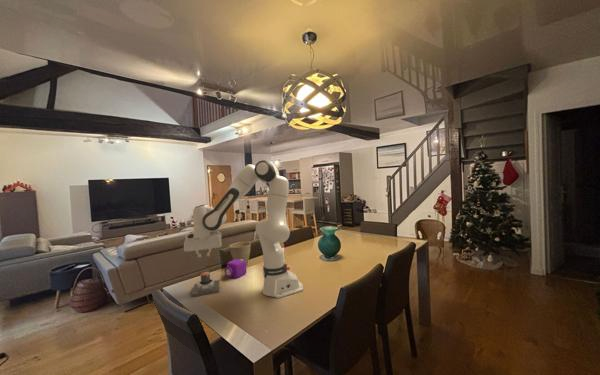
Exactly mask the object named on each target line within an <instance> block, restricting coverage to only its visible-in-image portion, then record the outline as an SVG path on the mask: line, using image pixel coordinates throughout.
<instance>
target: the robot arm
mask: <svg viewBox="0 0 600 375" xmlns="http://www.w3.org/2000/svg"><path fill="white" fill-rule="evenodd" d="M259 181H261V182H263V183H266V184H268V187H269V189H268V195H267V198H266V205H265V210H266V212H267V219H266V218H265V219H262V220H259V221H258V222H257V223H256V224H255V233H256V234H257V237H258V239H259V243H260V245H261V246H260V247H261V249H262V250H261V251H262V255H263V257H262V258H263V266H262V267H263V269H262V272H263V273H262V274H263V285H262V286H263V288H262V294H263V295H264V296H267V297H274V298H276V299H280V298H284V297H287V296H289V295H293V294H297V293H300V292H303V291H304V285H303V283H302V282H301V281H300V280H299V278H298V276H297V275H296V274H295V273H294V272H292V271H290V269H291V266H289V265H288V264H286V263H285V260H284V259H285V258H284V249H283V247H282V246H281V243H285V242H287V241H288V239H289V237H290V235H291V230H290V227H289V226H288V223H287V216H286V215H287V204H288V197H289V191H290V190H289V189H290V188H289V187H290V184H289V182H290V181H289V179H287V178H286V177H284V176H282V175H281V173H280V170H279V169H278V168H277V166H275V164H274V163H272V162H271V161H269V160H266V159H265V160H264V159H262V160H259V161H257V163H256V164H255V165H254V164H252V163H250V164H249V163H248V164H246V165H245V166H244V167H243V168H242V169H241V170H240V171H239V172H238V173H237V175H236V176H235V177H234V179H233V180H232V182H231V184H230V185H229V187H228V189H227V190H226V192H225V194H224V195H223V197H222V198H221V200H220V201H219V202H218V203H217V205H216V206H215V207H212V206H210V205H208V204H205V203H204V204H200V205H198V206H195V207H194V208H193V209H192V210H193V211H192V221H193V230H192V231H190V232H187V233H186V234H185V240H184V242H183V251H184V253H187V252H195V254H196V255H197V258H202V254H201V253H200V251H202V250H208V252H207V253H206V257H209V258H210V257H211V256H210V255H211V254H210V253H211V251H212V249H218V248H221V247H222V246H223V244H222V243H223V242H222V237H223V236H222V235H223V234H222V232H220V231H217V230H218V229H219V228H220V227H221V226H222V225H224V224H225V223H226V222H227V220H228V219H227V218H228V217H227V212H228V211H229V210H230V209H231V207H232V206H233V205H234V204H235V203H236V202H237V201H239V200H240V199H242V198H243V197H245V196H246V195H247V194H248V193H249V192H250V191H251V189H252V188H253V187H254V185H255V184H256V183H257V182H259Z"/></svg>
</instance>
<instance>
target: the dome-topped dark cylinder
mask: <svg viewBox="0 0 600 375" xmlns="http://www.w3.org/2000/svg"><path fill="white" fill-rule="evenodd" d="M210 278H211V274H210V271H203V272H200V281H201V284H208V283H210Z"/></svg>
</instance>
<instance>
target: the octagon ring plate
mask: <svg viewBox="0 0 600 375" xmlns="http://www.w3.org/2000/svg"><path fill="white" fill-rule="evenodd" d="M219 292H220V279H218V280H215V279H214V278H211V277H210V283H208V284H201V280H199V281H197V283H194V285H193V288H192V292H191V298H195V297H200V296H206V295H211V294H217V293H219Z"/></svg>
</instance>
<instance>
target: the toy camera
mask: <svg viewBox="0 0 600 375" xmlns="http://www.w3.org/2000/svg"><path fill="white" fill-rule="evenodd" d="M246 274H247V266H246V261H245V260H243V259H235V260H233V259H232V260H229V261H228V262H227V263H226V267H225V268H224V275H225V276H226V277H227V278H234V279H239V278H241V277H243V276H244V275H246Z"/></svg>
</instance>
